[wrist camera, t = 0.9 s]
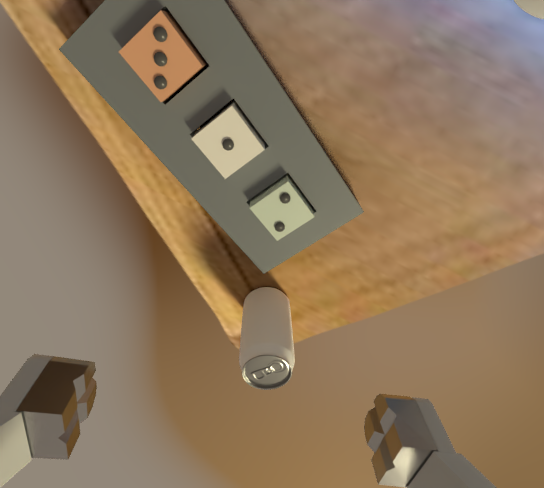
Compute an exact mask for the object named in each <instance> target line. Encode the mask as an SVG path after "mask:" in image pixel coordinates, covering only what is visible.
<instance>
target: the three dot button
mask: <svg viewBox="0 0 544 488" xmlns="http://www.w3.org/2000/svg"><path fill="white" fill-rule="evenodd" d="M119 53H120V54H121V56H122V57H123V58H124V59H125V60H126V62H127V63H128V64H129V65H130V66H131V68H132V69H133V70H134V71H135V72H136V73H137V75H138V76H139V77H140V78H141V79H142V81H143V82H144V83H145V84H146V85H147V87H148V88H149V89H150V90H151V91H152V93H153V94H154V95H155V96H156V97H157V99H158V100H159V101H160V102H163V101H165V100H166V99H168V98H169V97H170V96H172V95H173V94H174V93H175V92H176V91H177V90H178V89H180V88H181V87H182V86H183V85H184V84H185V83H186V82H188V81H189V80H190V79H191V78H192V77H193V76H194V75H195V74H197V73H198V72H199V71H200V70H201V69H202V68H203V67H205V66H206V65H207V63H206V62H205V60H204V59H203V57H202V56H201V55H200V53H199V52H198V51H197V49H196V48H195V47H194V45H193V44H192V43H191V41H190V40H189V38H188V37H187V36H186V34H185V33H184V32H183V30H182V29H181V28H180V26H179V25H178V24H177V22H176V21H175V19H174V18H173V17H172V15H171V14H170V13H169V12H165V11H162V10H160V11H159V12H158V13H157V14H156V15H155V16H154V17H153V18H152V19H151V20H150V21H149V22H148V23H147V24H146V25H145V26H144V27H143V28H142V29H141V30H140V31H139V32H138V33H137V34H136V35H135V36H134V37H133V38H132V39H131V40H130V41H129V42H128V43H127V44H126V45H125V46H124V47H123V48H122V49H121V50H120V51H119Z"/></svg>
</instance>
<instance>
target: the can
mask: <svg viewBox="0 0 544 488" xmlns="http://www.w3.org/2000/svg"><path fill="white" fill-rule="evenodd" d="M294 362H295V357H294V345H293V334H292V323H291V313H290V304H289V299H288V297H287V296H286V295H285V294H284V293H283V292H282V291H280V290H278V289H276V288H272V287H262V288H258V289H255V290H253V291H252V292H250V293H249V294H248V295H247V297H246V298H245V300H244V306H243V316H242V328H241V341H240V354H239V364H240V367H241V370H242V376H243V378H244V380H245V381H246V383H248V384H249V385H250V386H252V387H255V388H258V389H264V390H267V389H275V388H279V387H281V386H283V385H285V384H286V383H287V382H288V381H289V380H290V378H291V376H292V369H293V366H294Z"/></svg>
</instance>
